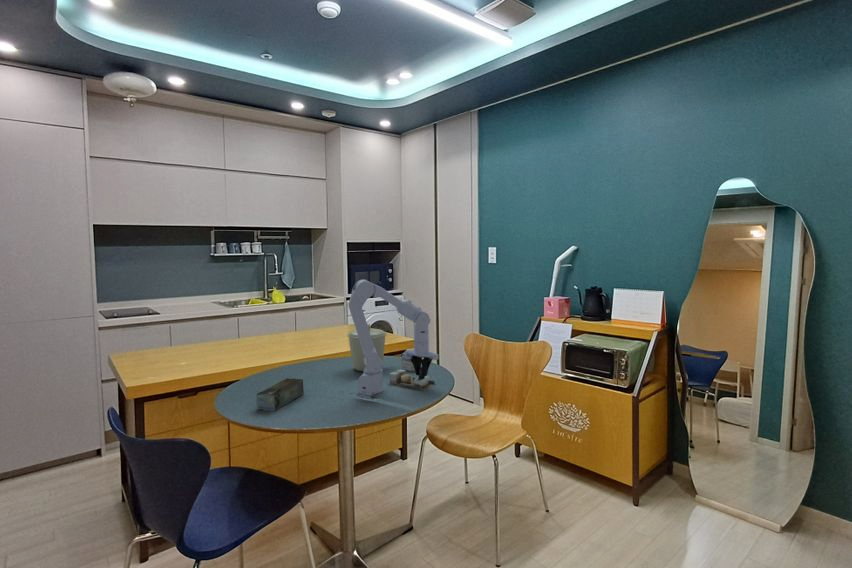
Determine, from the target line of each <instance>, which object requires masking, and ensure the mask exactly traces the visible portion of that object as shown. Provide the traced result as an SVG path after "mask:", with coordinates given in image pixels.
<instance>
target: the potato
mask: <svg viewBox="0 0 852 568" xmlns="http://www.w3.org/2000/svg"><path fill="white" fill-rule="evenodd" d="M411 380H412V375H411V374H410V373H409V374H407V373H406V374H404V375H401V383H404V384H411Z"/></svg>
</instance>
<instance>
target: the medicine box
mask: <svg viewBox="0 0 852 568" xmlns="http://www.w3.org/2000/svg"><path fill="white" fill-rule="evenodd" d="M410 358H412V356H405V352H403V353H401V370H406V371H410V372H415V368H414V366H413V364H412V362H411V360H410Z"/></svg>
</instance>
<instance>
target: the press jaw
mask: <svg viewBox="0 0 852 568" xmlns="http://www.w3.org/2000/svg"><path fill="white" fill-rule="evenodd" d="M415 378H416V379H414V385H415V386H420V387H424V386H426V385H428V384H430V380H431V378H430V375H427V376H425V377H423V375H422V366H421V367H419V375H418V376H417V377H415Z"/></svg>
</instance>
